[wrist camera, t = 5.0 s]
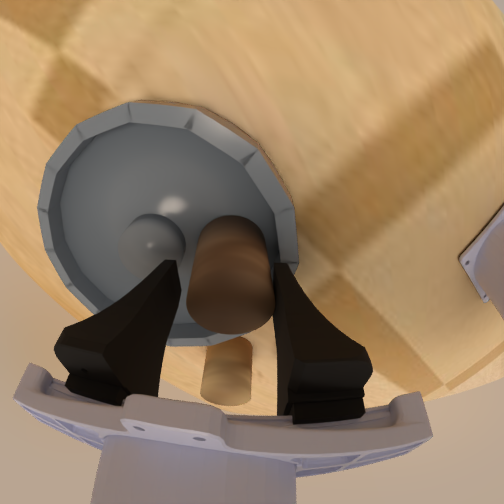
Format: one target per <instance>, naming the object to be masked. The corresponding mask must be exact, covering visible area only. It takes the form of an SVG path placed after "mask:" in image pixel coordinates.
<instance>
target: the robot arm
mask: <svg viewBox="0 0 504 504" xmlns="http://www.w3.org/2000/svg"><path fill="white" fill-rule="evenodd" d="M459 262H460V263H461V265H462V266H463V268H464V270H465V271H466V273H467V274H468V276H469V278H470V279H471V281H472V283H473V285H474V286H475V288H476V290H477V292H478V293H479V295H480V297H481V299H482V301H483V302H484V303H486V302H488V301H489V300H491V301H492V303H493V304H494V306H495V307H496V309H497V310H498V312H499V313H500V315H501V317H502V318H503V320H504V206H503V207H502V208H501V210H500V211H499V212H498V213H497V215H496V216H495V217H494V218H493V220H492V221H491V222H490V223H489V224H488V226H487V227H486V228H485V229H484V230H483V231H482V233H481V234H480V235H479V236H478V237H477V238H476V239H475V241H474V242H473V243H472V244H471V245H470V246H469V247H468V248H467V249H466V250H465V251H464V252H463V254H462V255H461V256H460V258H459ZM273 289H274V296H275V310H274V313H273V323H274V330H275V338H276V346H277V416H247V415H226V414H224V413H223V412H222V411H221V410H220V409H218V408H216V407H214V406H211V405H207V404H202V403H195V402H186V401H179V400H172V399H165V398H159V397H158V390H159V382H160V374H161V368H162V362H163V356H164V351H165V347H166V343H167V340H168V336H169V333H170V330H171V327H172V325H173V322H174V319H175V316H176V313H177V310H178V306H179V302H180V297H181V291H182V289H181V284H180V279H179V273H178V268H177V262H176V260H167V259H165V260H164V261H163V262H161V263H160V264H159V265H158V266H157V267H156V268H155V269H154V270H153V271H152V272H151V273H150V274H149V275H148V276H147V277H146V278H145V279H143V280H142V281H141V282H140V283H139V284H138V285H137V286H135V287H134V288H133V289H132V290H131V291H130V292H128V293H127V294H126V295H125V296H123V297H122V298H121V299H119V300H118V301H116V302H115V303H113V304H112V305H110V306H109V307H107V308H105V309H104V310H102V311H100V312H99V313H97V314H95V315H93V316H91V317H89V318H87V319H85V320H83V321H80V322H78V323H76V324H73V325H70V326H68V327H65V328H64V330H63V331H62V333H61V335H60V337H59V339H58V340H57V342H56V344H55V346H54V351H55V354H56V356H57V358H58V359H59V360H60V362H61V363H62V364H63V366H64V367H65V368H66V369H67V370H68V372H69V373H70V374H69V376H68V379H67V381H66V382H63V381H60V380H58V379H55V378H53V377H52V376H51V374H50V373H49V372H48V371H47V370H46V369H44V368H42V367H40V366H37V365H35V364H32V363H29V365H28V366H27V369H26V370H25V373H24V374H23V377H22V379H21V381H20V383H19V385H18V387H17V390H16V392H15V394H14V396H13V400H15V402H17V403H18V404H19V405H20V406H21V407H23V408H24V409H25V410H26V411H27V412H28V413H30V414H31V415H32V416H33V417H35V418H36V419H37V420H38V421H40V422H42V423H44V424H46V425H48V426H50V427H52V428H54V429H56V430H58V431H60V432H62V433H64V434H66V435H68V436H70V437H72V438H74V439H76V440H79V441H81V442H83V443H86V444H88V445H90V446H92V447H95V448H97V449H100V450H102V453H101V457H100V461H99V465H98V469H97V474H96V478H95V484H94V488H93V493H92V498H91V504H296V477H304V476H313V475H319V474H326V473H331V472H337V471H342V470H347V469H352V468H356V467H360V466H364V465H368V464H373V463H376V462H380V461H384V460H387V459H391V458H395V457H398V456H402V455H405V454H407V453H409V452H410V451H412V450H414V449H415V448H417V447H419V446H420V445H422V444H423V443H425V442H427V441H428V440H430V439H431V438H432V437H433V434H432V430H431V427H430V423H429V419H428V416H427V412H426V409H425V406H424V402H423V399H422V396H421V393H420V392H419V391H417V392H413V393H409V394H404V395H400V396H397V397H395V398H394V399H393V400H392V401H391V402H390V403H389V405H384V406H378V407H373V408H366V409H365V407H364V402H363V397H364V395H365V394H364V389H363V387H364V385H365V384H366V383H367V381H368V380H369V378H370V377H371V375H372V372H373V367H372V364H371V360H370V358H369V355H368V353H367V351H366V349H365V347H363V346H362V345H360V344H358V343H357V342H355V341H354V340H352V339H350V338H349V337H348V336H346V335H345V334H344V333H342V332H341V331H340V330H338V329H337V328H336V327H335V326H334V325H333V324H332V323H330V322H329V321H328V320H327V319H326V318H325V317H324V316H323V315H322V314H321V313H320V312H319V310H318V309H317V308H316V307H315V306H314V305H313V303H312V302H311V301H310V300H309V298H308V297H307V296H306V294H305V293H304V291H303V290H302V288H301V287H300V285H299V284H298V282H297V280H296V279H295V277H294V275H293V273H292V271H291V269H290V267H289V265H288V264H287V263H274V272H273Z"/></svg>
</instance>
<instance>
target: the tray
mask: <svg viewBox="0 0 504 504" xmlns="http://www.w3.org/2000/svg"><path fill="white" fill-rule="evenodd" d="M37 209H38V216H39V222H40V228H41V233H42V238H43V243H44V247H45V251H46V253H47V255H48V256H49V258H50V260H51V262H52V264H53V266H54V268H55V269H56V271H57V273H58V275H59V276H60V278H61V280H62V281H63V283H64V285H65V286H66V288H67V289H68V290H69V291H70V292H71V293H72V294H73V295H74V296H75V297H76V298H77V299H78V300H79V301H80V302H81V303H82V304H83V305H84V306H85V307H86V308H88V309H89V310H90V311H91V312H92V313H93V314H94V315H95V314H97V313H99V312H100V311H102V310H104V309H105V308H107V307H109V306H110V305H112V304H113V303H115V302H116V301H118V300H119V299H121V298H122V297H123V296H125V295H126V294H127V293H128V292H130V291H131V290H132V289H133V288H134V287H135V286H137V285H138V284H139V283H140V282H141V281H142V280H143V279H145V278H146V277H147V276H148V275H149V274H150V273H151V272H152V271H153V270H154V269H155V268H156V267H157V266H158V265H159V264H160V263H161V262H163V261H164V260H165V259H167V260H176V262H177V268H178V273H179V279H180V284H181V289H182V291H181V297H180V302H179V306H178V310H177V313H176V316H175V319H174V322H173V325H172V327H171V330H170V333H169V336H168V340H167V343H166V345H167V346H212V345H215V344H218V343H221V342H224V341H227V340H230V339H233V338H236V337H239V336H241V335H244V334H247V333H250V332H247V333H243V334H235V335H228V334H220V333H215V332H212V331H209V330H207V329H205V328H203V327H201V326H200V325H199V324H197V323H196V322H195V321H194V320H193V319H192V318H191V316H190V314H189V313H188V310H187V307H186V298H187V292H188V287H189V282H190V277H191V272H192V267H193V262H194V257H195V253H196V248H197V244H198V239H199V236H200V233H201V231H202V230H203V228H204V227H205V226H206V225H207V224H208V223H209V222H211V221H213V220H214V219H217V218H219V217H222V216H231V215H233V216H241V217H244V218H247V219H249V220H251V221H252V222H254V223H255V224H256V225H257V226H258V227H259V228H260V229H261V231H262V232H263V234H264V237H265V242H266V248H267V253H268V259H269V265H270V271H271V277H272V283H273V272H274V263H287V264H288V265H289V267H290V269H291V271H292V273H293V275H294V274H295V272H296V269H297V267H298V264H299V255H298V243H297V232H296V221H295V211H294V205H293V201H292V198H291V195H290V193H289V192H288V190H287V188H286V187H285V185H284V183H283V181H282V179H281V177H280V175H279V173H278V171H277V170H276V168H275V166H274V164H273V163H272V162H271V160H270V159H269V157H268V156H267V155H266V153H265V152H264V151H263V149H262V148H261V146H260V145H259V143H257V142H256V141H255V140H253V139H252V138H251V137H250V136H249V135H248V134H246V133H245V132H244V131H242V130H241V129H240V128H238V127H237V126H236V125H234V124H233V123H232V122H230V121H228V120H226V119H224V118H223V117H221V116H219V115H217V114H215V113H213V112H210V111H208V110H207V109H205V108H203V107H199V106H193V105H188V104H183V103H178V102H164V101H146V100H138V101H132V102H127V103H125V104H122V105H120V106H117V107H115V108H112V109H110V110H107V111H105V112H103V113H101V114H98V115H96V116H94V117H92V118H89V119H87V120H85V121H83V122H81V123H79V124H77V125H76V126H75V127H74V128H73V129H72V130H71V132H70V133H69V134H68V135H67V137H66V138H65V139H64V140H63V142H62V143H61V144H60V146H59V147H58V148H57V150H56V151H55V152H54V154H53V155H52V156H51V158H50V159H49V161H48V162H47V163H46V167H45V171H44V175H43V180H42V184H41V189H40V195H39V200H38V206H37Z"/></svg>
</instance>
